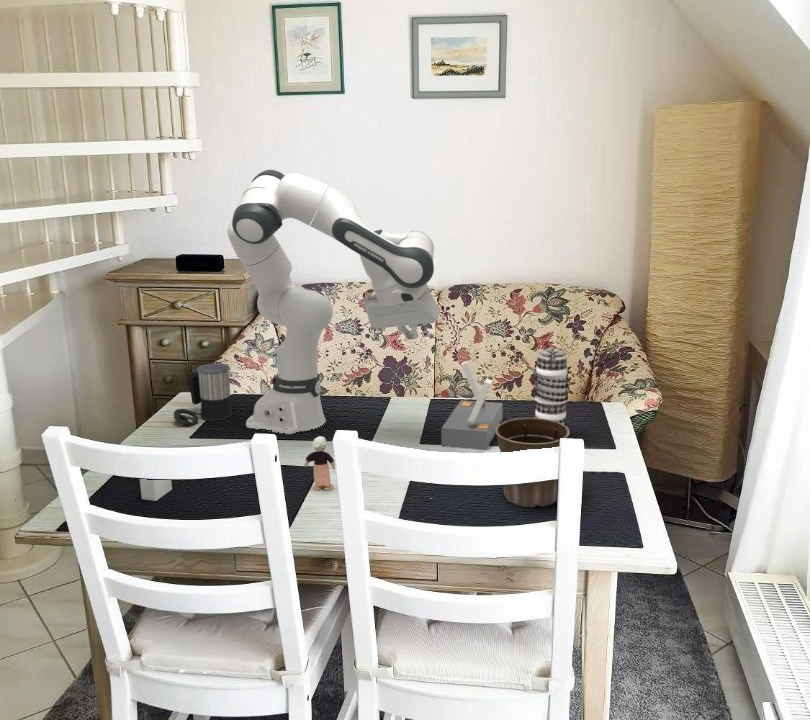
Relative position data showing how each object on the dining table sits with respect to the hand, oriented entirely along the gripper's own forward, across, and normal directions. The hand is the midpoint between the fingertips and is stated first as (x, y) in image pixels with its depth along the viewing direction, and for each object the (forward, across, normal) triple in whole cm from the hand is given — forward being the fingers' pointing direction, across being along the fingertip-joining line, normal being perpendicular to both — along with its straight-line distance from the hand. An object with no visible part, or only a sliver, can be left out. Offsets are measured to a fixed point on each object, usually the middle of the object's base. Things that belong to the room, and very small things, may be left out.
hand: (412, 338), depth 229 cm
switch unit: (+31, +6, 0) cm, 32 cm away
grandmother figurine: (+12, -6, -46) cm, 48 cm away
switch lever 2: (+24, +11, -5) cm, 27 cm away
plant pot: (+27, +37, -30) cm, 55 cm away
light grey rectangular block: (-1, -36, -65) cm, 75 cm away
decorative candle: (+37, +26, +3) cm, 45 cm away
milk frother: (+8, -65, -22) cm, 69 cm away
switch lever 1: (+29, +6, +10) cm, 31 cm away
